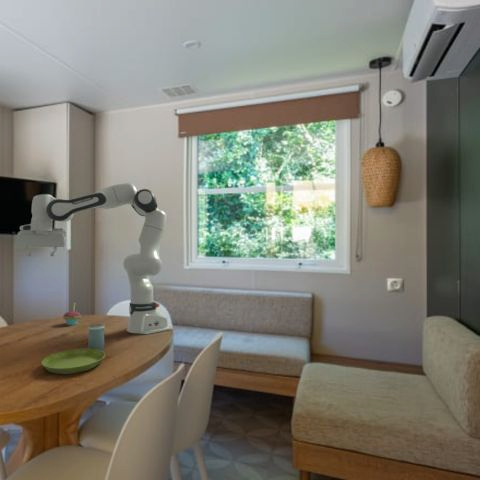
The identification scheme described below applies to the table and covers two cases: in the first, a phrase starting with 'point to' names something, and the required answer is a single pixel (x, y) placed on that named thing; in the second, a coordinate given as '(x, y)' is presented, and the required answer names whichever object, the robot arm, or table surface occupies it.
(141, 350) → the table surface
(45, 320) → the table surface
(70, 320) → the cupcake
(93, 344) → the beaker
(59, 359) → the saucer
